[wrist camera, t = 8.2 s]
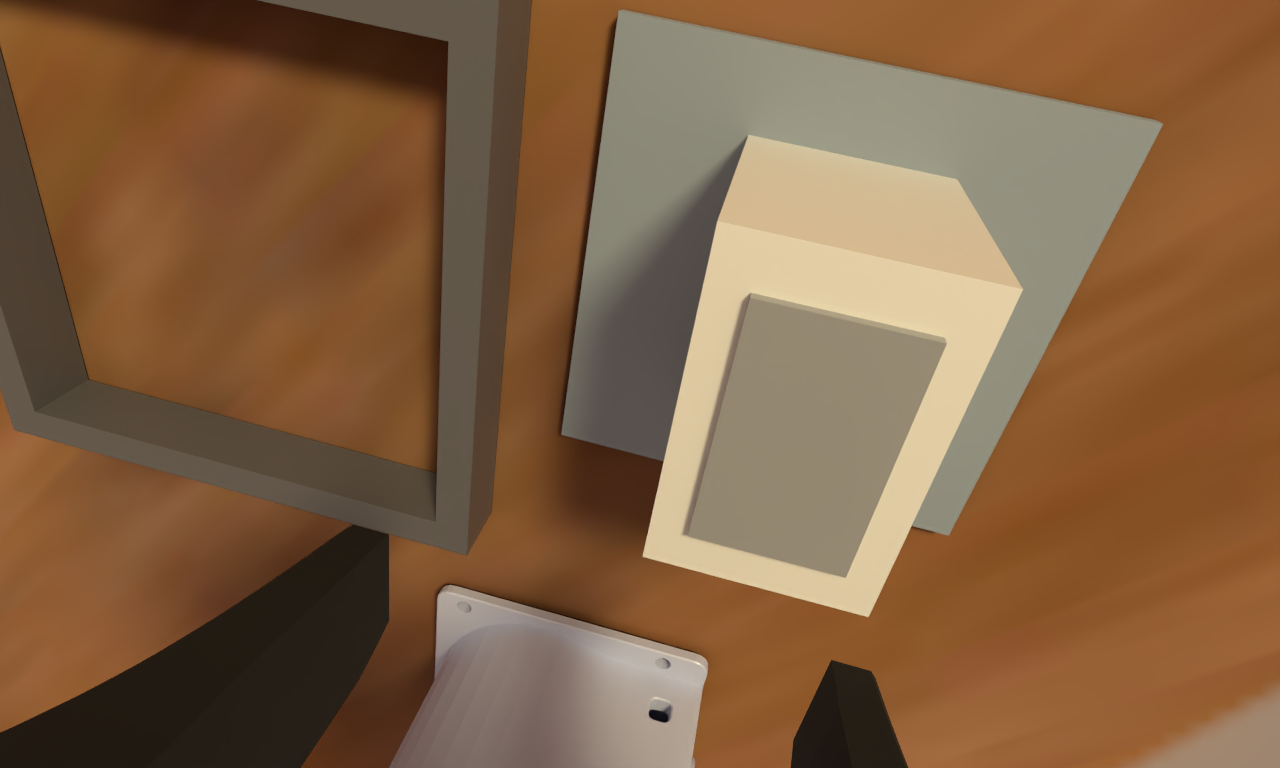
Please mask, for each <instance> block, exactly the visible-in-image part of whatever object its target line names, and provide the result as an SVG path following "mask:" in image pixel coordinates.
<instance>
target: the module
mask: <svg viewBox="0 0 1280 768" xmlns="http://www.w3.org/2000/svg"><path fill="white" fill-rule="evenodd" d="M1022 291H1023V288H1022V287H1021V285H1020V283H1019V282H1018V280H1017V278H1016V277H1015V275H1014V273H1013V272H1012V270H1011V268H1010V267H1009V265H1008V263H1007V262H1006V260H1005V258H1004V257H1003V255H1002V253H1001V252H1000V250H999V248H998V247H997V245H996V243H995V242H994V240H993V238H992V236H991V235H990V233H989V231H988V230H987V228H986V226H985V225H984V223H983V221H982V220H981V218H980V216H979V215H978V213H977V211H976V210H975V208H974V206H973V205H972V203H971V201H970V200H969V198H968V196H967V195H966V193H965V191H964V190H963V188H962V186H961V185H960V183H959V181H958V180H957V179H954V178H949V177H944V176H939V175H935V174H930V173H925V172H921V171H916V170H911V169H907V168H902V167H897V166H893V165H888V164H883V163H878V162H874V161H869V160H864V159H860V158H855V157H850V156H846V155H841V154H836V153H831V152H827V151H822V150H817V149H813V148H808V147H803V146H799V145H794V144H789V143H785V142H780V141H775V140H770V139H766V138H761V137H756V136H752V135H748V138H747V140H746V143H745V146H744V149H743V152H742V154H741V157H740V160H739V163H738V165H737V168H736V171H735V174H734V176H733V179H732V182H731V185H730V187H729V190H728V193H727V196H726V198H725V201H724V204H723V207H722V210H721V212H720V215H719V218H718V221H717V225H716V229H715V234H714V238H713V243H712V247H711V252H710V256H709V261H708V265H707V270H706V274H705V279H704V283H703V288H702V292H701V297H700V301H699V306H698V310H697V315H696V319H695V324H694V328H693V333H692V337H691V342H690V346H689V351H688V355H687V359H686V364H685V368H684V373H683V377H682V382H681V386H680V391H679V395H678V400H677V404H676V409H675V413H674V418H673V422H672V427H671V431H670V436H669V440H668V445H667V449H666V454H665V458H664V463H663V467H662V472H661V476H660V481H659V485H658V490H657V494H656V499H655V503H654V508H653V512H652V516H651V521H650V525H649V530H648V534H647V539H646V543H645V548H644V552H643V557H646V558H649V559H653V560H657V561H661V562H664V563H668V564H672V565H676V566H679V567H683V568H687V569H691V570H694V571H698V572H702V573H705V574H709V575H713V576H717V577H720V578H724V579H728V580H732V581H735V582H739V583H743V584H747V585H750V586H754V587H758V588H762V589H765V590H769V591H773V592H776V593H780V594H784V595H788V596H791V597H795V598H799V599H803V600H806V601H810V602H814V603H818V604H821V605H825V606H829V607H833V608H836V609H840V610H844V611H848V612H851V613H855V614H859V615H862V616H866V617H869V615H870V613H871V611H872V608H873V606H874V604H875V602H876V600H877V598H878V596H879V594H880V592H881V589H882V587H883V585H884V583H885V581H886V579H887V577H888V575H889V572H890V570H891V568H892V566H893V564H894V562H895V560H896V558H897V556H898V553H899V551H900V549H901V547H902V545H903V543H904V541H905V539H906V536H907V534H908V532H909V530H910V528H911V526H912V524H913V522H914V520H915V517H916V515H917V513H918V511H919V509H920V507H921V505H922V503H923V500H924V498H925V496H926V494H927V492H928V490H929V488H930V486H931V484H932V481H933V479H934V477H935V475H936V473H937V471H938V469H939V467H940V465H941V462H942V460H943V458H944V456H945V454H946V452H947V450H948V448H949V445H950V443H951V441H952V439H953V437H954V435H955V433H956V431H957V429H958V426H959V424H960V422H961V420H962V418H963V416H964V414H965V412H966V409H967V407H968V405H969V403H970V401H971V399H972V397H973V395H974V393H975V390H976V388H977V386H978V384H979V382H980V380H981V378H982V376H983V373H984V371H985V369H986V367H987V365H988V363H989V361H990V359H991V357H992V354H993V352H994V350H995V348H996V346H997V344H998V342H999V340H1000V337H1001V335H1002V333H1003V331H1004V329H1005V327H1006V325H1007V323H1008V321H1009V318H1010V316H1011V314H1012V312H1013V310H1014V308H1015V306H1016V304H1017V301H1018V299H1019V297H1020V295H1021V293H1022Z"/></svg>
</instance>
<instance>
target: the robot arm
mask: <svg viewBox="0 0 1280 768" xmlns="http://www.w3.org/2000/svg"><path fill="white" fill-rule="evenodd" d="M388 622H389V534H385V533H382V532H378V531H375V530H371V529H368V528H364V527H361V526H357V525H352V526H350V527H348V528H346V529H345V530H343V531H342V532H341V533H339V534H338V535H336V536H335V537H333V538H332V539H331V540H329V541H328V542H326V543H325V544H324V545H322V546H321V547H319V548H318V549H317V550H315V551H314V552H312V553H311V554H309V555H308V556H307V557H305V558H304V559H302V560H301V561H300V562H298V563H297V564H295V565H294V566H292V567H291V568H289V569H288V570H287V571H285V572H284V573H282V574H281V575H279V576H278V577H276V578H275V579H274V580H272V581H271V582H269V583H268V584H266V585H265V586H263V587H262V588H260V589H259V590H257V591H256V592H254V593H253V594H251V595H249V596H248V597H246V598H245V599H243V600H242V601H240V602H239V603H237V604H236V605H234V606H233V607H231V608H230V609H228V610H227V611H225V612H224V613H222V614H221V615H219V616H217V617H216V618H214V619H213V620H211V621H209V622H208V623H206V624H204V625H203V626H201V627H199V628H198V629H196V630H195V631H193V632H191V633H190V634H188V635H186V636H185V637H183V638H181V639H180V640H178V641H176V642H175V643H173V644H171V645H170V646H168V647H167V648H165V649H163V650H161V651H160V652H158V653H156V654H155V655H153V656H151V657H149V658H147V659H146V660H144V661H142V662H140V663H139V664H137V665H135V666H133V667H131V668H130V669H128V670H126V671H124V672H122V673H121V674H119V675H117V676H115V677H113V678H111V679H109V680H107V681H105V682H104V683H102V684H100V685H98V686H96V687H94V688H92V689H90V690H88V691H86V692H84V693H82V694H81V695H79V696H77V697H75V698H73V699H70V700H68V701H66V702H64V703H62V704H60V705H58V706H56V707H54V708H52V709H50V710H48V711H46V712H44V713H41V714H39V715H37V716H35V717H33V718H31V719H29V720H27V721H25V722H23V723H21V724H19V725H16V726H14V727H12V728H10V729H8V730H5V731H3V732H1V733H0V768H300V767H301V766H302V764H303V763H304V761H305V760H306V759H307V757H308V756H309V754H310V753H311V751H312V750H313V748H314V747H315V745H316V744H317V742H318V741H319V739H320V738H321V736H322V735H323V733H324V732H325V730H326V729H327V727H328V726H329V724H330V723H331V721H332V720H333V718H334V717H335V715H336V714H337V712H338V711H339V709H340V708H341V706H342V704H343V703H344V701H345V700H346V698H347V697H348V695H349V694H350V692H351V691H352V689H353V688H354V686H355V685H356V683H357V682H358V680H359V678H360V676H361V674H362V673H363V671H364V669H365V667H366V665H367V663H368V661H369V659H370V657H371V656H372V654H373V652H374V650H375V648H376V646H377V644H378V642H379V640H380V638H381V636H382V634H383V632H384V630H385V628H386V626H387V624H388ZM662 658H665V659H662ZM707 671H708V662H707V660H706V659H705V658H704V657H702V656H701V655H699V654H696V653H693V652H689V651H686V650H682V649H679V648H675V647H672V646H668V645H664V644H661V643H657V642H654V641H650V640H647V639H643V638H640V637H636V636H632V635H629V634H625V633H622V632H618V631H615V630H611V629H608V628H604V627H601V626H597V625H593V624H590V623H586V622H583V621H579V620H576V619H572V618H569V617H565V616H561V615H558V614H554V613H551V612H547V611H544V610H540V609H537V608H533V607H530V606H526V605H522V604H519V603H515V602H512V601H508V600H505V599H501V598H498V597H494V596H490V595H487V594H483V593H480V592H476V591H473V590H469V589H466V588H462V587H458V586H454V585H447V586H444V587H443V588H442V589H441V591H440V593H439V594H438V597H437V619H436V652H435V680H434V682H433V684H432V686H431V688H430V690H429V692H428V694H427V695H426V697H425V699H424V701H423V703H422V705H421V707H420V709H419V711H418V713H417V715H416V717H415V718H414V720H413V722H412V724H411V726H410V728H409V730H408V732H407V734H406V736H405V738H404V740H403V742H402V743H401V745H400V747H399V749H398V751H397V753H396V755H395V757H394V759H393V761H392V763H391V765H390V766H389V768H694V767H695V759H694V757H692V755H693V749H694V742H695V736H696V729H697V723H698V716H699V710H700V703H701V697H702V690H703V685H704V682H705V679H706V676H707ZM791 768H908V766H907V763H906V761H905V758H904V756H903V753H902V750H901V748H900V745H899V743H898V740H897V738H896V735H895V732H894V729H893V727H892V724H891V721H890V719H889V716H888V713H887V710H886V707H885V705H884V702H883V699H882V696H881V693H880V690H879V687H878V684H877V682H876V679H875V677H874V675H873V674H872V672H871V671H868V670H865V669H861V668H858V667H854V666H850V665H847V664H843V663H840V662H836V661H833V660H831V662H830V664H829V666H828V668H827V670H826V673H825V675H824V677H823V679H822V681H821V683H820V685H819V687H818V689H817V691H816V694H815V696H814V698H813V700H812V702H811V704H810V706H809V708H808V710H807V712H806V715H805V717H804V719H803V721H802V723H801V725H800V727H799V729H798V731H797V734H796V736H795V738H794V741H793V751H792V761H791Z"/></svg>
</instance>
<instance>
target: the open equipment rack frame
mask: <svg viewBox="0 0 1280 768" xmlns="http://www.w3.org/2000/svg"><path fill="white" fill-rule="evenodd" d="M258 1H263V2H268V3H272V4H277V5H282V6H286V7H291V8H295V9H300V10H305V11H309V12H314V13H319V14H323V15H328V16H332V17H337V18H342V19H346V20H351V21H356V22H360V23H365V24H370V25H374V26H379V27H383V28H388V29H393V30H397V31H402V32H407V33H411V34H416V35H421V36H425V37H430V38H434V39H439V40H444V41H448V75H447V112H446V149H445V187H444V224H443V262H442V299H441V337H440V374H439V412H438V449H437V473H434V472H430V471H426V470H422V469H419V468H415V467H411V466H407V465H404V464H400V463H396V462H393V461H389V460H385V459H381V458H378V457H374V456H370V455H367V454H363V453H359V452H355V451H352V450H348V449H344V448H340V447H337V446H333V445H329V444H326V443H322V442H318V441H314V440H311V439H307V438H303V437H299V436H296V435H292V434H288V433H285V432H281V431H277V430H273V429H270V428H266V427H262V426H259V425H255V424H251V423H247V422H244V421H240V420H236V419H232V418H229V417H225V416H221V415H218V414H214V413H210V412H206V411H203V410H199V409H195V408H192V407H188V406H184V405H180V404H177V403H173V402H169V401H165V400H162V399H158V398H154V397H151V396H147V395H143V394H139V393H136V392H132V391H128V390H125V389H121V388H117V387H113V386H110V385H106V384H102V383H98V382H95V381H91V380H88V376H87V373H86V369H85V365H84V361H83V358H82V354H81V350H80V346H79V343H78V339H77V335H76V331H75V328H74V324H73V320H72V317H71V313H70V309H69V305H68V302H67V298H66V294H65V290H64V287H63V283H62V279H61V275H60V272H59V268H58V264H57V260H56V257H55V253H54V249H53V245H52V242H51V238H50V234H49V230H48V227H47V223H46V219H45V215H44V212H43V208H42V204H41V200H40V197H39V193H38V189H37V186H36V182H35V178H34V174H33V171H32V167H31V163H30V159H29V156H28V152H27V148H26V144H25V141H24V137H23V133H22V129H21V126H20V122H19V118H18V114H17V111H16V107H15V103H14V99H13V96H12V92H11V88H10V84H9V81H8V77H7V73H6V70H5V66H4V62H3V58H2V55H1V51H0V389H1V392H2V395H3V398H4V401H5V404H6V407H7V410H8V413H9V416H10V419H11V421H12V424H13V427H14V430H16V431H20V432H24V433H27V434H31V435H34V436H38V437H42V438H45V439H49V440H52V441H56V442H60V443H63V444H67V445H70V446H74V447H78V448H81V449H85V450H88V451H92V452H96V453H99V454H103V455H106V456H110V457H114V458H117V459H121V460H124V461H128V462H132V463H135V464H139V465H142V466H146V467H150V468H153V469H157V470H160V471H164V472H168V473H171V474H175V475H178V476H182V477H186V478H189V479H193V480H197V481H200V482H204V483H207V484H211V485H215V486H218V487H222V488H225V489H229V490H233V491H236V492H240V493H243V494H247V495H251V496H254V497H258V498H261V499H265V500H269V501H272V502H276V503H279V504H283V505H287V506H290V507H294V508H297V509H301V510H305V511H308V512H312V513H315V514H319V515H323V516H326V517H330V518H333V519H337V520H341V521H344V522H348V523H351V524H355V525H359V526H362V527H366V528H369V529H373V530H377V531H380V532H384V533H387V534H391V535H395V536H398V537H402V538H405V539H409V540H413V541H416V542H420V543H423V544H427V545H431V546H434V547H438V548H441V549H445V550H449V551H452V552H456V553H459V554H463V555H467V554H468V552H469V551H470V549H471V547H472V545H473V544H474V542H475V540H476V538H477V537H478V535H479V533H480V531H481V530H482V528H483V526H484V524H485V523H486V521H487V519H488V517H489V516H490V514H491V511H492V499H493V486H494V473H495V461H496V448H497V435H498V423H499V410H500V398H501V385H502V372H503V360H504V347H505V334H506V322H507V309H508V296H509V284H510V271H511V258H512V246H513V233H514V221H515V208H516V195H517V183H518V170H519V157H520V145H521V132H522V119H523V107H524V94H525V81H526V69H527V56H528V44H529V31H530V18H531V6H532V0H258Z"/></svg>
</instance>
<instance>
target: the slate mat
mask: <svg viewBox="0 0 1280 768" xmlns="http://www.w3.org/2000/svg"><path fill="white" fill-rule="evenodd" d="M1162 125H1163V124H1162V123H1160V122H1158V121H1156V120H1153V119H1148V118H1144V117H1139V116H1134V115H1129V114H1124V113H1119V112H1115V111H1110V110H1105V109H1100V108H1095V107H1091V106H1086V105H1081V104H1076V103H1071V102H1067V101H1062V100H1057V99H1052V98H1047V97H1042V96H1038V95H1033V94H1028V93H1023V92H1018V91H1014V90H1009V89H1004V88H999V87H994V86H989V85H985V84H980V83H975V82H970V81H965V80H961V79H956V78H951V77H946V76H941V75H936V74H932V73H927V72H922V71H917V70H912V69H908V68H903V67H898V66H893V65H888V64H883V63H879V62H874V61H869V60H864V59H859V58H855V57H850V56H845V55H840V54H835V53H830V52H826V51H821V50H816V49H811V48H806V47H802V46H797V45H792V44H787V43H782V42H777V41H773V40H768V39H763V38H758V37H753V36H749V35H744V34H739V33H734V32H729V31H724V30H720V29H715V28H710V27H705V26H700V25H696V24H691V23H686V22H681V21H676V20H671V19H667V18H662V17H657V16H652V15H647V14H643V13H638V12H633V11H628V10H623V9H622V10H619V11H618V19H617V26H616V33H615V41H614V48H613V56H612V63H611V70H610V78H609V85H608V93H607V100H606V107H605V115H604V122H603V130H602V137H601V144H600V152H599V159H598V167H597V174H596V181H595V189H594V196H593V204H592V211H591V218H590V226H589V233H588V241H587V248H586V256H585V263H584V270H583V278H582V285H581V293H580V300H579V307H578V315H577V322H576V330H575V337H574V344H573V352H572V359H571V367H570V374H569V381H568V389H567V396H566V404H565V411H564V418H563V426H562V433H561V435H564V436H568V437H572V438H575V439H579V440H583V441H587V442H591V443H595V444H599V445H602V446H606V447H610V448H614V449H618V450H622V451H625V452H629V453H633V454H637V455H641V456H645V457H649V458H652V459H656V460H660V461H664V458H665V454H666V449H667V445H668V440H669V436H670V431H671V427H672V422H673V418H674V413H675V409H676V404H677V400H678V395H679V391H680V386H681V382H682V377H683V373H684V368H685V364H686V359H687V355H688V351H689V346H690V342H691V337H692V333H693V328H694V324H695V319H696V315H697V310H698V306H699V301H700V297H701V292H702V288H703V283H704V279H705V274H706V270H707V265H708V261H709V256H710V252H711V247H712V243H713V238H714V234H715V229H716V225H717V221H718V218H719V215H720V212H721V210H722V207H723V204H724V201H725V198H726V196H727V193H728V190H729V187H730V185H731V182H732V179H733V176H734V174H735V171H736V168H737V165H738V163H739V160H740V157H741V154H742V152H743V149H744V146H745V143H746V140H747V138H748V135H752V136H756V137H761V138H766V139H770V140H775V141H780V142H785V143H789V144H794V145H799V146H803V147H808V148H813V149H817V150H822V151H827V152H831V153H836V154H841V155H846V156H850V157H855V158H860V159H864V160H869V161H874V162H878V163H883V164H888V165H893V166H897V167H902V168H907V169H911V170H916V171H921V172H925V173H930V174H935V175H939V176H944V177H949V178H954V179H957V180H958V181H959V183H960V185H961V186H962V188H963V190H964V191H965V193H966V195H967V196H968V198H969V200H970V201H971V203H972V205H973V206H974V208H975V210H976V211H977V213H978V215H979V216H980V218H981V220H982V221H983V223H984V225H985V226H986V228H987V230H988V231H989V233H990V235H991V236H992V238H993V240H994V242H995V243H996V245H997V247H998V248H999V250H1000V252H1001V253H1002V255H1003V257H1004V258H1005V260H1006V262H1007V263H1008V265H1009V267H1010V268H1011V270H1012V272H1013V273H1014V275H1015V277H1016V278H1017V280H1018V282H1019V283H1020V285H1021V287H1022V288H1023V291H1022V293H1021V295H1020V297H1019V299H1018V301H1017V304H1016V306H1015V308H1014V310H1013V312H1012V314H1011V316H1010V318H1009V321H1008V323H1007V325H1006V327H1005V329H1004V331H1003V333H1002V335H1001V337H1000V340H999V342H998V344H997V346H996V348H995V350H994V352H993V354H992V357H991V359H990V361H989V363H988V365H987V367H986V369H985V371H984V373H983V376H982V378H981V380H980V382H979V384H978V386H977V388H976V390H975V393H974V395H973V397H972V399H971V401H970V403H969V405H968V407H967V409H966V412H965V414H964V416H963V418H962V420H961V422H960V424H959V426H958V429H957V431H956V433H955V435H954V437H953V439H952V441H951V443H950V445H949V448H948V450H947V452H946V454H945V456H944V458H943V460H942V462H941V465H940V467H939V469H938V471H937V473H936V475H935V477H934V479H933V481H932V484H931V486H930V488H929V490H928V492H927V494H926V496H925V498H924V500H923V503H922V505H921V507H920V509H919V511H918V513H917V515H916V517H915V520H914V522H913V524H912V526H914V527H918V528H922V529H925V530H929V531H933V532H937V533H941V534H945V535H949V534H950V532H951V530H952V528H953V526H954V524H955V522H956V521H957V519H958V517H959V515H960V513H961V511H962V509H963V507H964V505H965V503H966V501H967V499H968V498H969V496H970V494H971V492H972V490H973V488H974V486H975V484H976V482H977V480H978V478H979V476H980V475H981V473H982V471H983V469H984V467H985V465H986V463H987V461H988V459H989V457H990V455H991V453H992V451H993V450H994V448H995V446H996V444H997V442H998V440H999V438H1000V436H1001V434H1002V432H1003V430H1004V428H1005V427H1006V425H1007V423H1008V421H1009V419H1010V417H1011V415H1012V413H1013V411H1014V409H1015V407H1016V405H1017V404H1018V402H1019V400H1020V398H1021V396H1022V394H1023V392H1024V390H1025V388H1026V386H1027V384H1028V382H1029V380H1030V379H1031V377H1032V375H1033V373H1034V371H1035V369H1036V367H1037V365H1038V363H1039V361H1040V359H1041V357H1042V356H1043V354H1044V352H1045V350H1046V348H1047V346H1048V344H1049V342H1050V340H1051V338H1052V336H1053V334H1054V333H1055V331H1056V329H1057V327H1058V325H1059V323H1060V321H1061V319H1062V317H1063V315H1064V313H1065V311H1066V310H1067V308H1068V306H1069V304H1070V302H1071V300H1072V298H1073V296H1074V294H1075V292H1076V290H1077V288H1078V286H1079V285H1080V283H1081V281H1082V279H1083V277H1084V275H1085V273H1086V271H1087V269H1088V267H1089V265H1090V263H1091V262H1092V260H1093V258H1094V256H1095V254H1096V252H1097V250H1098V248H1099V246H1100V244H1101V242H1102V240H1103V239H1104V237H1105V235H1106V233H1107V231H1108V229H1109V227H1110V225H1111V223H1112V221H1113V219H1114V217H1115V216H1116V214H1117V212H1118V210H1119V208H1120V206H1121V204H1122V202H1123V200H1124V198H1125V196H1126V194H1127V192H1128V191H1129V189H1130V187H1131V185H1132V183H1133V181H1134V179H1135V177H1136V175H1137V173H1138V171H1139V169H1140V168H1141V166H1142V164H1143V162H1144V160H1145V158H1146V156H1147V154H1148V152H1149V150H1150V148H1151V146H1152V145H1153V143H1154V141H1155V139H1156V137H1157V135H1158V133H1159V131H1160V129H1161V127H1162Z"/></svg>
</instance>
